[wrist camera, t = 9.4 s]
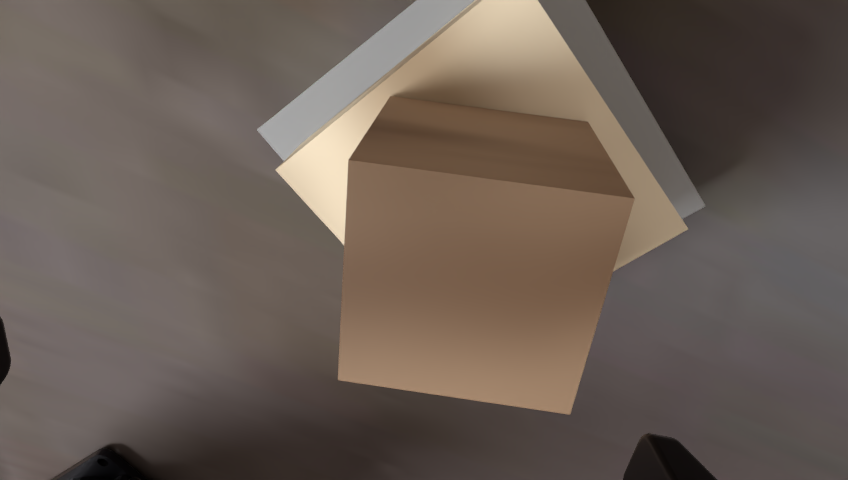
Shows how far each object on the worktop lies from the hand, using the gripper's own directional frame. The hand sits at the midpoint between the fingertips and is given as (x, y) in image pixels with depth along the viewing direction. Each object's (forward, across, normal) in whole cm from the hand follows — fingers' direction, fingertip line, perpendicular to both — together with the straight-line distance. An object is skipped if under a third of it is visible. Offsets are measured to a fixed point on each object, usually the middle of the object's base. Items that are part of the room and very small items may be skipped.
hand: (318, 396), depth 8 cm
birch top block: (+11, -2, 0) cm, 11 cm away
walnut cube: (+8, -2, 0) cm, 9 cm away
